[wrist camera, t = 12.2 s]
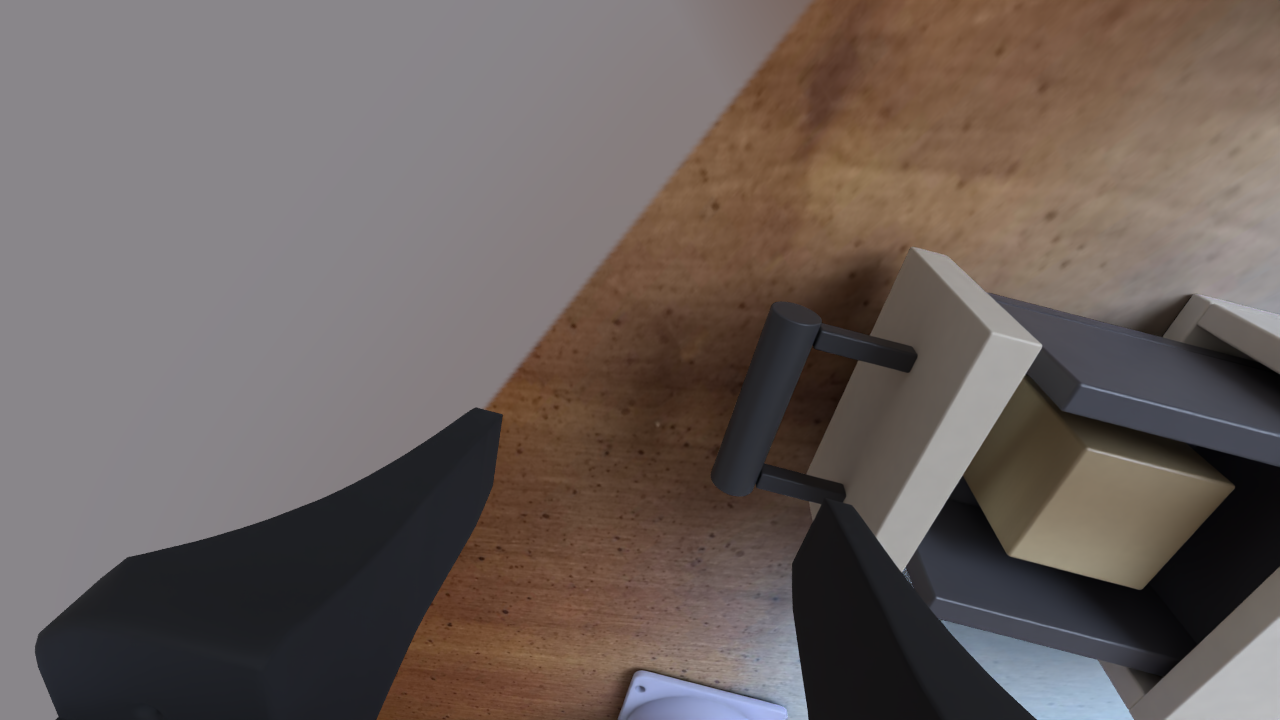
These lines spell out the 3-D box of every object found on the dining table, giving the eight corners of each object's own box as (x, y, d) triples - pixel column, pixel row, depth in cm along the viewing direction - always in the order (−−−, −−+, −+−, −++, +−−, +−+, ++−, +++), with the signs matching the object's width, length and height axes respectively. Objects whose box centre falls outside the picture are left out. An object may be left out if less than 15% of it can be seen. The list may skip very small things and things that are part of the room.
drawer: (699, 451, 23) (692, 580, 17) (781, 212, 19) (806, 284, 13) (1095, 553, 23) (1214, 714, 18) (1273, 339, 19) (1507, 464, 13)
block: (1070, 499, 21) (1142, 591, 17) (958, 470, 21) (1006, 557, 17) (1142, 404, 19) (1238, 487, 15) (1018, 372, 19) (1086, 447, 15)
